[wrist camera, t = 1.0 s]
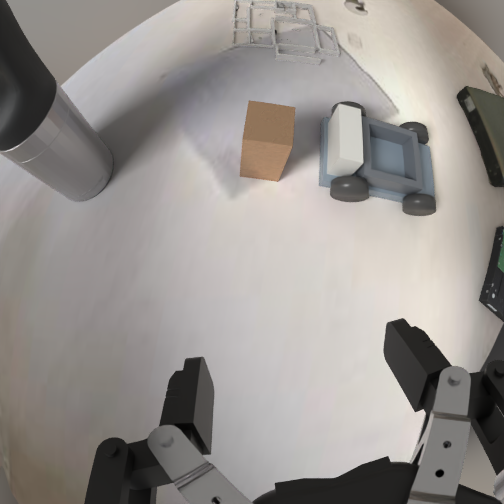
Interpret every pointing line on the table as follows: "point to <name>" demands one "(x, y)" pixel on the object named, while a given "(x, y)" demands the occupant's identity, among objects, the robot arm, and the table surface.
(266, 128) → the brown rectangular block
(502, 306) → the disk drive
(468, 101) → the network switch
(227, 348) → the table surface
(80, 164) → the robot arm
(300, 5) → the floor plan model
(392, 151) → the chassis
